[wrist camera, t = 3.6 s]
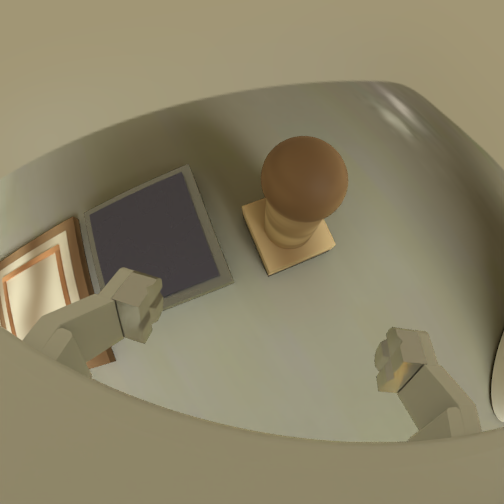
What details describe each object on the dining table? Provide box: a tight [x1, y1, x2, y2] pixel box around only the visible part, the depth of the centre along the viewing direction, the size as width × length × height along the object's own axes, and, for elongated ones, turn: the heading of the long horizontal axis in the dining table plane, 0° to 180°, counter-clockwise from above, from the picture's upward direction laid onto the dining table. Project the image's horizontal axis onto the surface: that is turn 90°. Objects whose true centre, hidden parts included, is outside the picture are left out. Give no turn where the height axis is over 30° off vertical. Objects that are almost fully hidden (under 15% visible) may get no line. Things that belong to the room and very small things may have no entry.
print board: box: [0, 217, 116, 369], centre depth 21 cm, size 13×13×1 cm
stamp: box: [242, 136, 348, 277], centre depth 17 cm, size 5×5×12 cm
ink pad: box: [84, 164, 234, 311], centre depth 21 cm, size 10×10×2 cm
